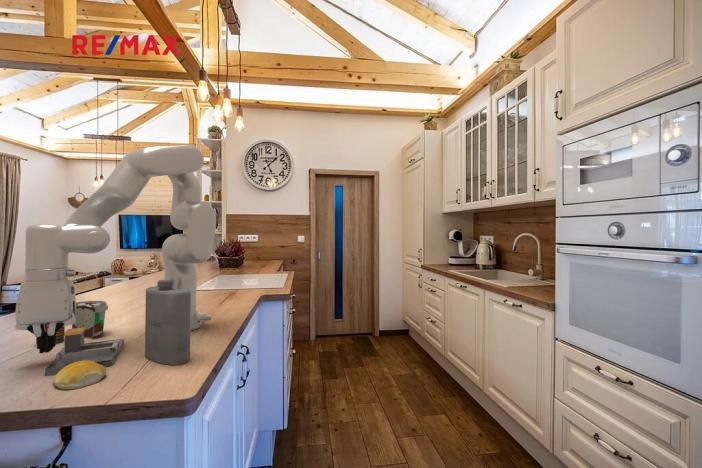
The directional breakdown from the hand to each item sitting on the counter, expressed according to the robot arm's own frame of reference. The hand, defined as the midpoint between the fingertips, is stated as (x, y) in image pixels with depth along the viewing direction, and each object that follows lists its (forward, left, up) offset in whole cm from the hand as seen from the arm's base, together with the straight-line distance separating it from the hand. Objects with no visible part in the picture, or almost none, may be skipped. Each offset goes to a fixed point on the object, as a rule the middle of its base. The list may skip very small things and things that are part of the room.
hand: (46, 351), depth 76 cm
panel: (-8, 0, -3) cm, 9 cm away
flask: (-25, +9, -3) cm, 27 cm away
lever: (-5, 0, -1) cm, 5 cm away
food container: (-4, -23, -3) cm, 24 cm away
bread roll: (-10, +15, -4) cm, 18 cm away
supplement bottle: (+5, -19, -3) cm, 20 cm away
